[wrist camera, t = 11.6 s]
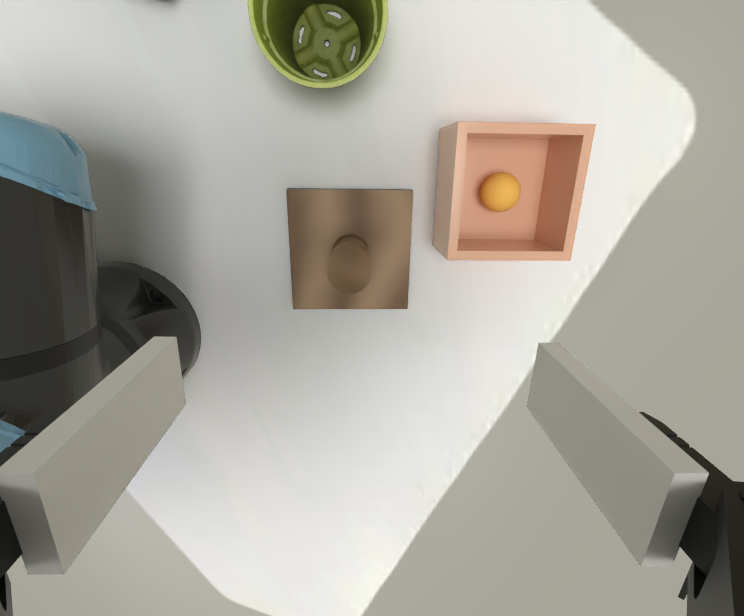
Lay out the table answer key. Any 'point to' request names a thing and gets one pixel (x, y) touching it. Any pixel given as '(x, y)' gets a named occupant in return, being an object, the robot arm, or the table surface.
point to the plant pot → (319, 37)
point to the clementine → (500, 192)
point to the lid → (349, 248)
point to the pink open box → (537, 180)
